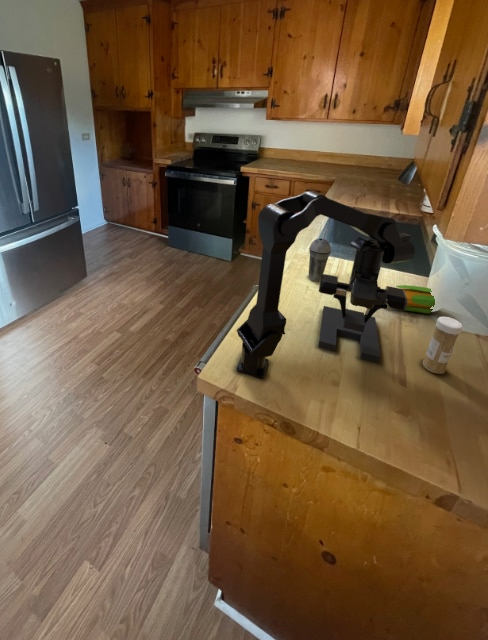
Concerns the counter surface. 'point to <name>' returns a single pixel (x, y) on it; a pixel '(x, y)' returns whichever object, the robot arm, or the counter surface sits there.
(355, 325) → the small pad
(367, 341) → the dark u-shaped block
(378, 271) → the robot arm
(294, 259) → the counter surface
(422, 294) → the corn
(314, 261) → the beverage cup
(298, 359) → the counter surface
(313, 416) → the counter surface
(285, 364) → the counter surface
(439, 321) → the tan spice jar
